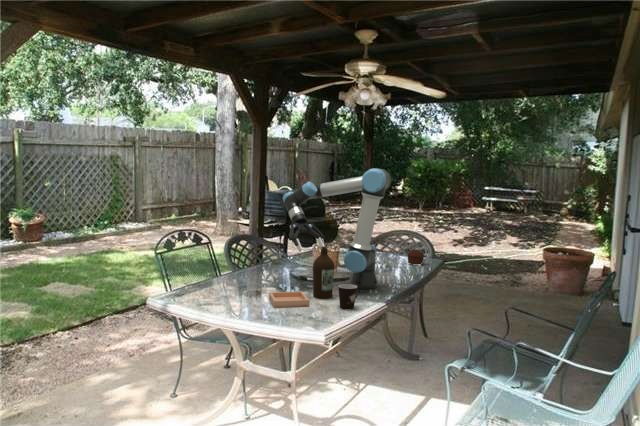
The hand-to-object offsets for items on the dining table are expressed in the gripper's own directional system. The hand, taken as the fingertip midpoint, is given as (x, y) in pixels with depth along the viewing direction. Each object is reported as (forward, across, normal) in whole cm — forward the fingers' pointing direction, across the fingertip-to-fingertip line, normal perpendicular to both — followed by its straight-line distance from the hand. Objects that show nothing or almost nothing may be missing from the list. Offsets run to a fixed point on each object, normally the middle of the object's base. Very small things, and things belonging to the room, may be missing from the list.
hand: (312, 249), depth 255 cm
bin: (+24, +20, -7) cm, 32 cm away
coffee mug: (+38, -1, +7) cm, 39 cm away
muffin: (-7, -105, -38) cm, 112 cm away
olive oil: (+23, 0, -8) cm, 25 cm away
